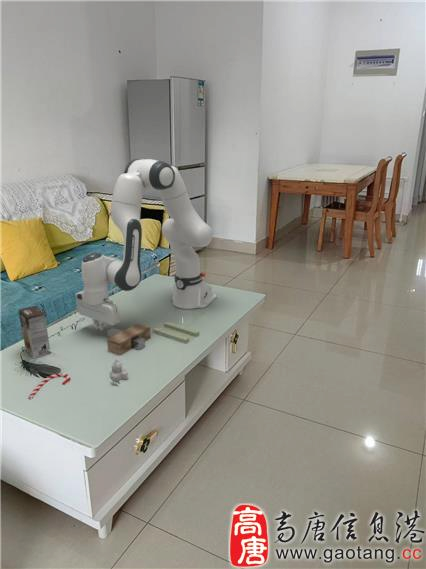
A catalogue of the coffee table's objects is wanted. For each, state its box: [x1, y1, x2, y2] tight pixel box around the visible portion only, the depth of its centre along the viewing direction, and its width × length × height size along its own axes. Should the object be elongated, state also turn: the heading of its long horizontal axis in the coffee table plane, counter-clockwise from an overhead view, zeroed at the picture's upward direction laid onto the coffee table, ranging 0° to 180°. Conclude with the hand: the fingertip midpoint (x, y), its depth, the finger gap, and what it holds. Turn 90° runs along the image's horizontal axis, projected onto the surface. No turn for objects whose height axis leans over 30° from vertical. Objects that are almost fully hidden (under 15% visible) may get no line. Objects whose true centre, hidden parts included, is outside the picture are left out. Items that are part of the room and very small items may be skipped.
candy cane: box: [27, 372, 71, 400], centre depth 137 cm, size 8×1×15 cm
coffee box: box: [18, 305, 51, 359], centre depth 156 cm, size 9×6×16 cm
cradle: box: [152, 321, 200, 344], centre depth 169 cm, size 8×16×3 cm, turn 56°
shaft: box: [106, 327, 146, 351], centre depth 162 cm, size 3×16×3 cm, turn 56°
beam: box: [106, 322, 152, 356], centre depth 160 cm, size 16×6×6 cm, turn 146°
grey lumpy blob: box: [109, 358, 129, 383], centre depth 139 cm, size 5×7×8 cm
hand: (100, 329), depth 169 cm, fingers closed
